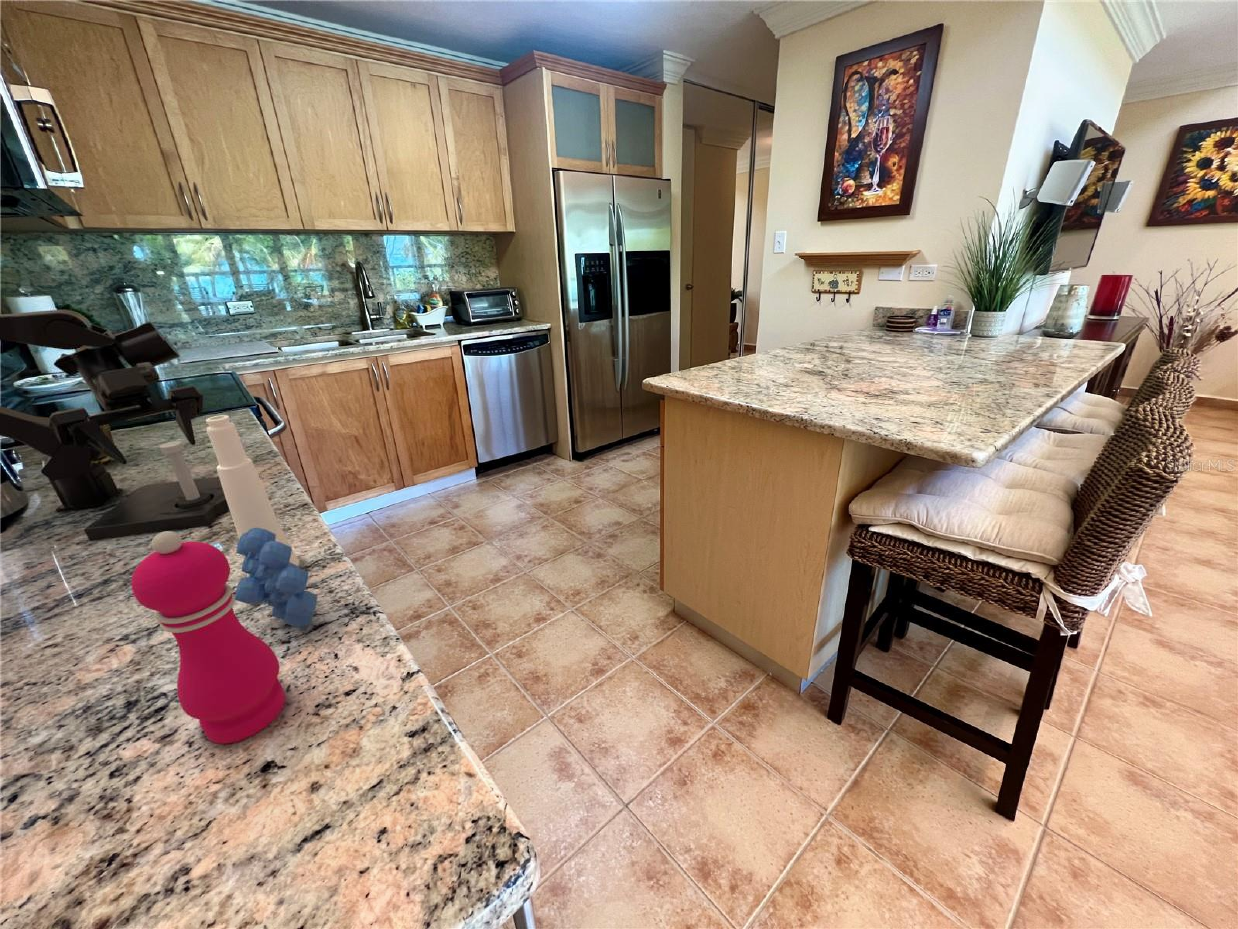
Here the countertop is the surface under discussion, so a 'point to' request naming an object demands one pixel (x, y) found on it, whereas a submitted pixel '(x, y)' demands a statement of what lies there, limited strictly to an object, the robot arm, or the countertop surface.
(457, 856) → the countertop surface
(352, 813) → the countertop surface
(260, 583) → the grapes
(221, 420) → the cosmetic bottle
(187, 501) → the stopper
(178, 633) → the pepper mill
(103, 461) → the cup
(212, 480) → the plate
